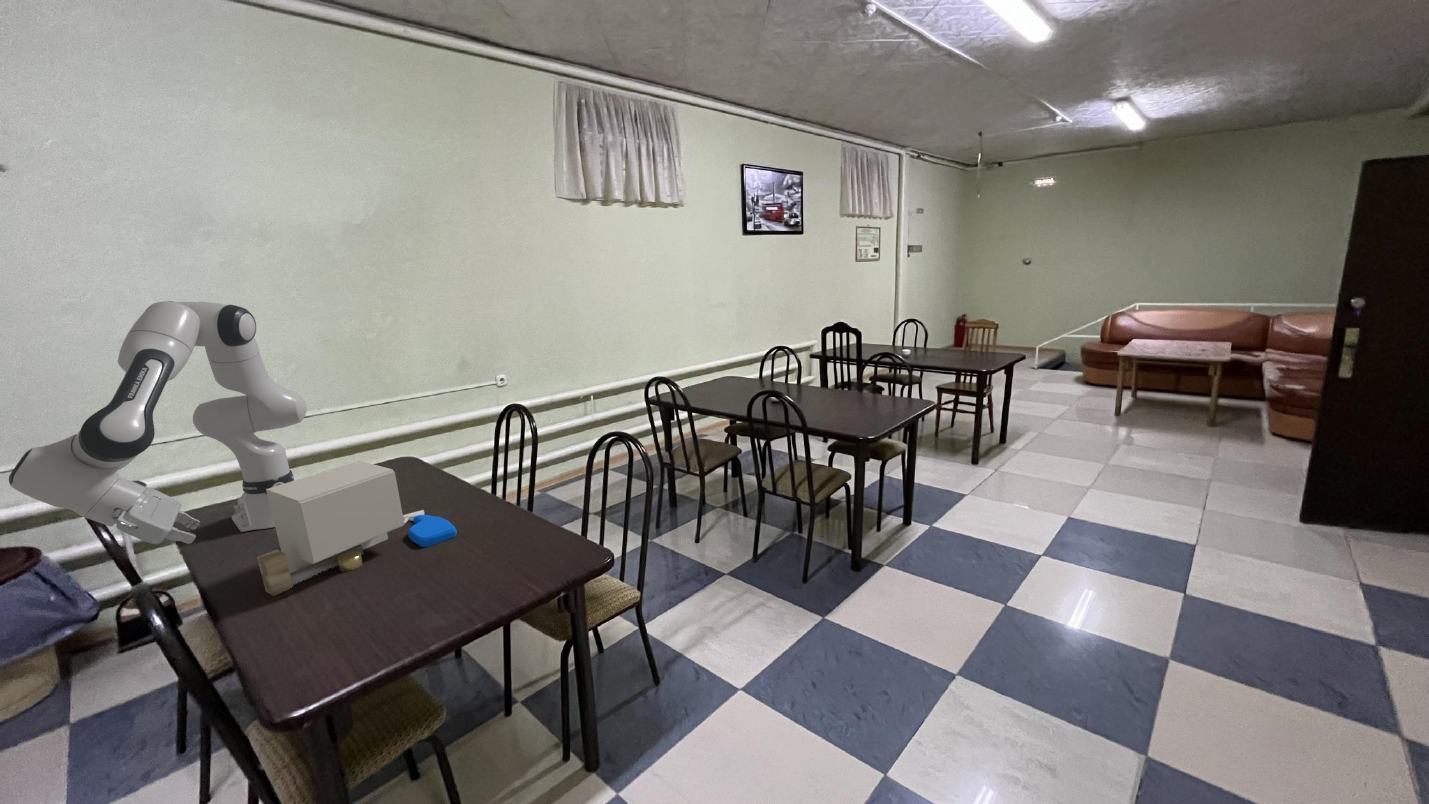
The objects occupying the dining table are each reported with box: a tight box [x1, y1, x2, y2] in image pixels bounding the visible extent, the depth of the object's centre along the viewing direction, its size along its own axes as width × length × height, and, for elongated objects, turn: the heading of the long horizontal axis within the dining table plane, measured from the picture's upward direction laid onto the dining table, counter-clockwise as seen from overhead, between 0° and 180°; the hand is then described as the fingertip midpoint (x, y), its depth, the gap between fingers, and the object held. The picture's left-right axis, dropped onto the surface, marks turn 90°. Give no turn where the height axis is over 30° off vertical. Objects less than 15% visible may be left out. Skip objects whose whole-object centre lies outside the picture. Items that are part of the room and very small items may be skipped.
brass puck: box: [337, 551, 364, 572], centre depth 142 cm, size 5×5×3 cm
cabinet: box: [266, 460, 405, 573], centre depth 144 cm, size 17×22×22 cm
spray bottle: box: [403, 509, 458, 548], centre depth 162 cm, size 3×11×24 cm
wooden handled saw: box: [256, 545, 365, 597], centre depth 139 cm, size 4×21×9 cm, turn 150°
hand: (195, 532), depth 122 cm, fingers open, 8 cm apart
